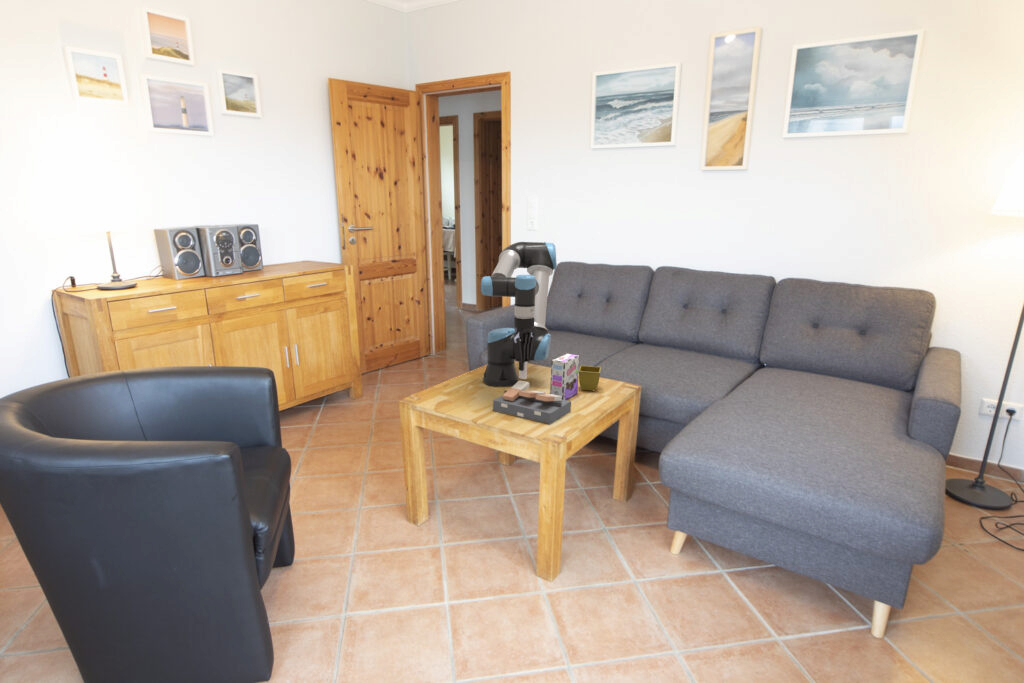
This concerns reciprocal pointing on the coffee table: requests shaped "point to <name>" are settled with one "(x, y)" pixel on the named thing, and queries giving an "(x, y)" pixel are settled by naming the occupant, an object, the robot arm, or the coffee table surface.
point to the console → (533, 408)
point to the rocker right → (548, 397)
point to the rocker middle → (530, 393)
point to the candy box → (565, 376)
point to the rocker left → (515, 390)
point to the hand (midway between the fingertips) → (522, 378)
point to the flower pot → (589, 377)
